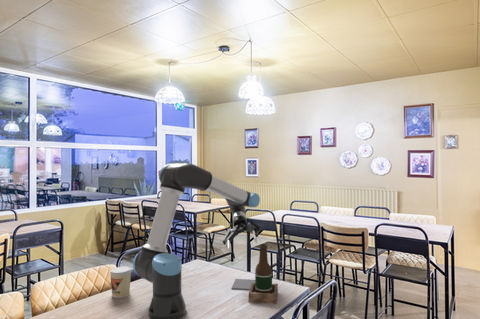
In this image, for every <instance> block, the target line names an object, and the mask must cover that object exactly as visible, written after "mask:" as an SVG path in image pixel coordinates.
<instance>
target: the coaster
mask: <svg viewBox="0 0 480 319" xmlns="http://www.w3.org/2000/svg"><path fill="white" fill-rule="evenodd" d="M252 283H255V279H247V278H244V279H243V278H235V279H234V282H233V284H232V286H231V290H242V291H243V290H244V291H250V287H251V284H252Z"/></svg>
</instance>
